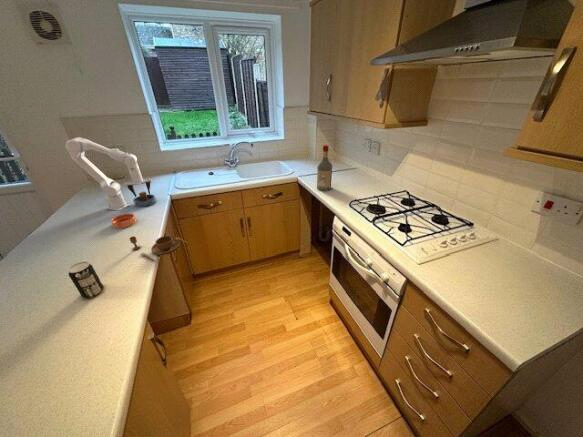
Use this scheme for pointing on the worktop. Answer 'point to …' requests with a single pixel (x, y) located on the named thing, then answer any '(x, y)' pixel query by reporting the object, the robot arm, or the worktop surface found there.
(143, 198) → the spice jar
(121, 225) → the terracotta bowl
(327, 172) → the liquor
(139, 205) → the blue bowl
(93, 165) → the robot arm
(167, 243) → the place setting
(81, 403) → the worktop surface
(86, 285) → the beverage can
